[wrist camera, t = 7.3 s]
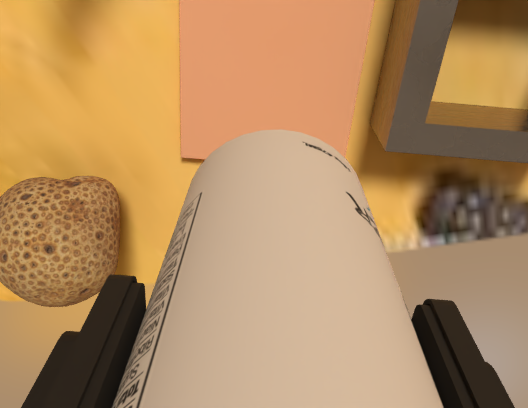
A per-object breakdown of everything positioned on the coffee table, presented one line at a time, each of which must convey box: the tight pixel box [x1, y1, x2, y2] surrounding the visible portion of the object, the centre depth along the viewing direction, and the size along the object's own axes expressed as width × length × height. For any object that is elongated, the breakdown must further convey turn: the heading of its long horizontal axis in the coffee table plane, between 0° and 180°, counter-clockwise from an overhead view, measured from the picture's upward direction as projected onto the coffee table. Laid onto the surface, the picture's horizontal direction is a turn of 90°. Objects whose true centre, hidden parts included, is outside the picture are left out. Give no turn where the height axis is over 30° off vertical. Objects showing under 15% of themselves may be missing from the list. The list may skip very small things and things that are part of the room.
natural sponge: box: [0, 176, 120, 307], centre depth 32 cm, size 9×9×10 cm
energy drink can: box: [112, 129, 444, 408], centre depth 10 cm, size 6×6×15 cm
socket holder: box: [370, 0, 528, 163], centre depth 27 cm, size 13×13×5 cm
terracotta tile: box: [180, 0, 375, 159], centre depth 31 cm, size 12×12×1 cm
